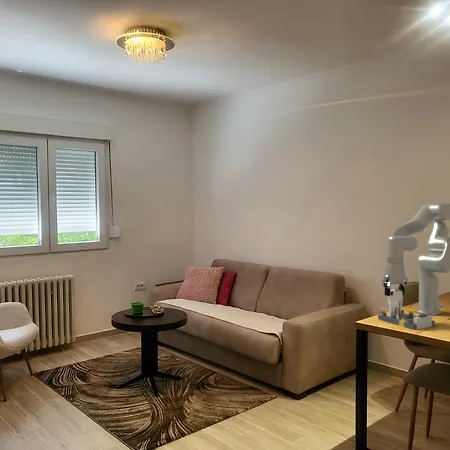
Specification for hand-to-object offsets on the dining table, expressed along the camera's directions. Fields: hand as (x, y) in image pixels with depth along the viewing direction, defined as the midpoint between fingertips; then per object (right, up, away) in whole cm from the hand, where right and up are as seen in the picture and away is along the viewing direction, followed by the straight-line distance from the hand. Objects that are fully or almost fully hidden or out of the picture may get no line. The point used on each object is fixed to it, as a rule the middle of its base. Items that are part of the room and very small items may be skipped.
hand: (394, 295), depth 225 cm
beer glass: (+1, -13, +1) cm, 13 cm away
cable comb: (+4, -13, -5) cm, 14 cm away
